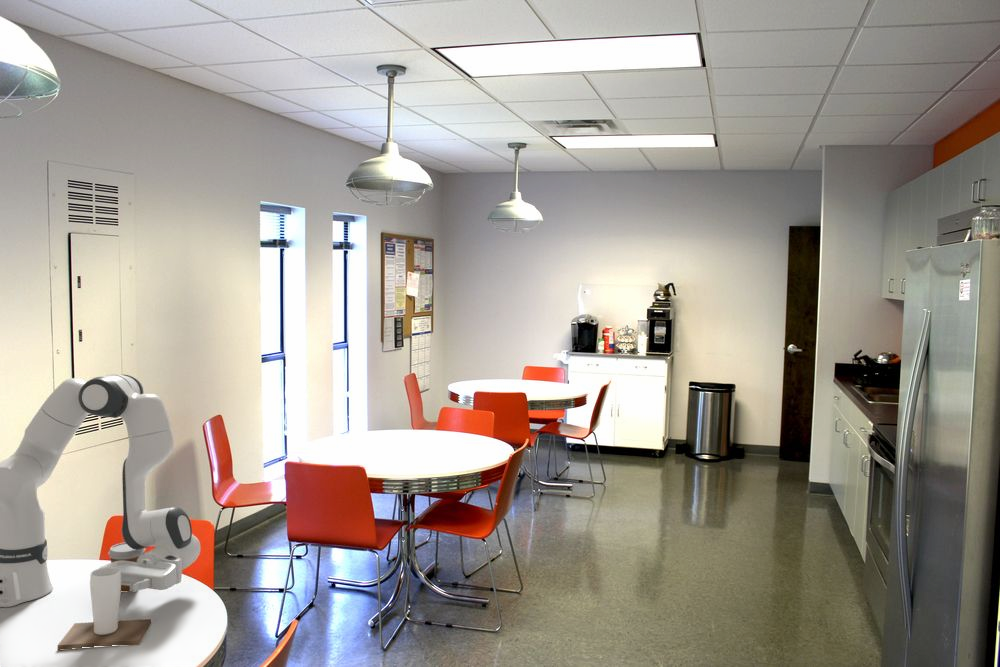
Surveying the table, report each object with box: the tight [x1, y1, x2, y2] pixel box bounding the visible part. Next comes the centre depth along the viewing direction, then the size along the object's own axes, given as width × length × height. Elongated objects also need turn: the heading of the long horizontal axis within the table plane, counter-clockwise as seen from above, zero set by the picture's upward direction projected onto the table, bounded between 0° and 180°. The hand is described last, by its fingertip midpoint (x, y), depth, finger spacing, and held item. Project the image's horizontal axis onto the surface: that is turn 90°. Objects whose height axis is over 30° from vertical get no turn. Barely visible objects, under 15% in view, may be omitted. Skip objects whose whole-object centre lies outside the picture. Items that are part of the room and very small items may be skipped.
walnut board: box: [57, 618, 152, 651], centre depth 191 cm, size 18×12×1 cm, turn 101°
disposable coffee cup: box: [107, 541, 147, 592], centre depth 220 cm, size 10×10×12 cm
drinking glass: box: [89, 567, 122, 635], centre depth 190 cm, size 7×7×15 cm
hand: (115, 586), depth 193 cm, fingers open, 8 cm apart
